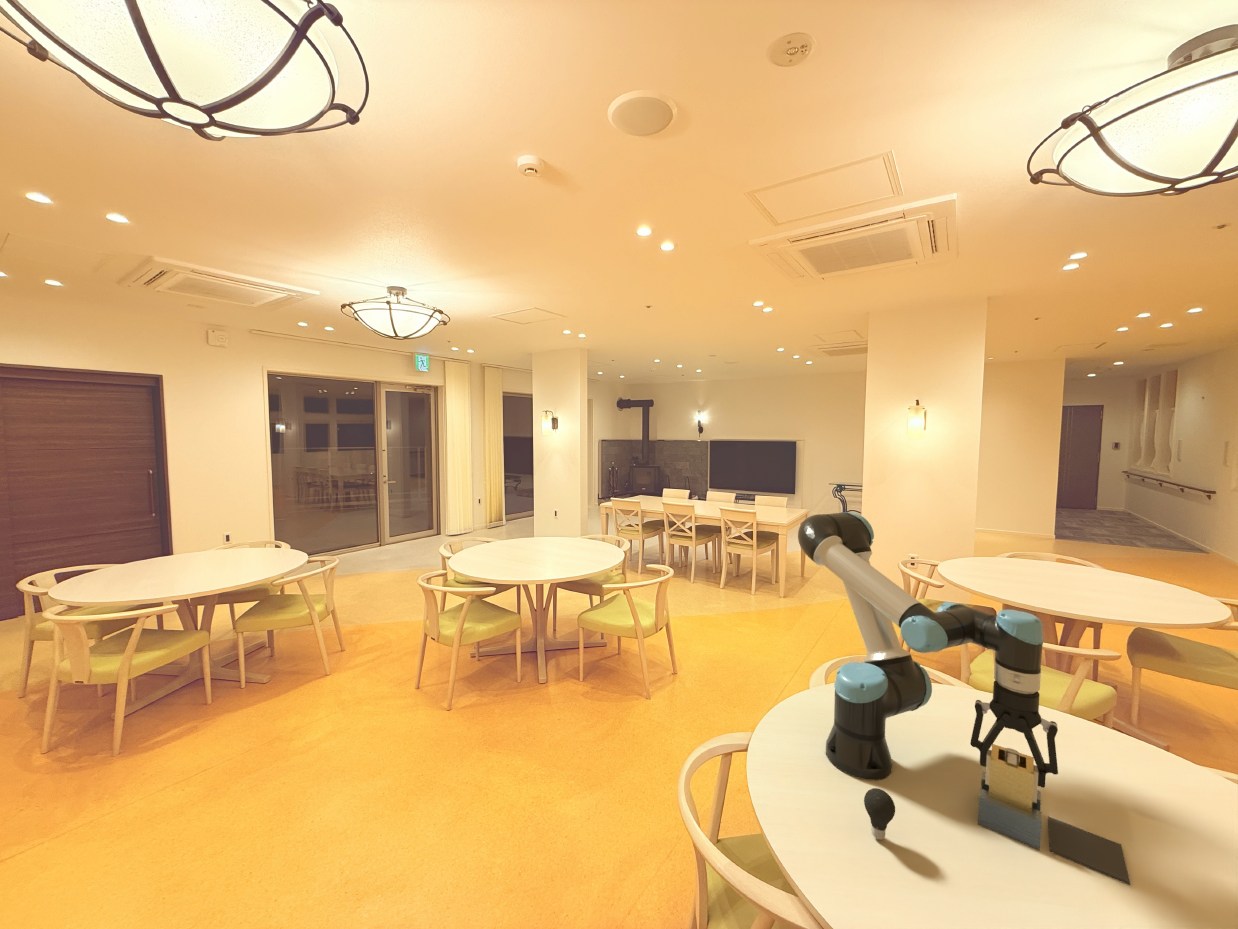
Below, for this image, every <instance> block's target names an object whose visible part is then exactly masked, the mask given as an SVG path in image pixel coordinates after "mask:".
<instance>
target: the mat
mask: <svg viewBox="0 0 1238 929" xmlns="http://www.w3.org/2000/svg"><path fill="white" fill-rule="evenodd" d="M1047 824H1048V839H1049V840H1048V843H1049V852H1050V853H1052V854H1054V855H1057V856H1059V857H1061V858H1064V859H1066V860H1068V861H1071V862H1073V863H1076V864H1078V865H1081V866H1082V867H1086V868H1088V869H1091V870H1092V871H1095V872H1097V873H1100V874H1102V875H1105V876H1106V877H1109V878H1111V879H1114V880H1116V881H1119V882H1122V884H1126V885H1128V886H1130V885H1131V881H1130V880H1131V879H1130V877H1129V876H1130V875H1129V872H1128V871H1129V870H1128V867H1127V863H1126V858H1125V855H1124V851H1123V846H1122V844H1121V843H1119V842H1115V841H1113V840H1111V839H1107V838H1106V837H1103V836H1101V835H1098V834H1095V833H1093V832H1091V831H1090V832H1089V831H1088V830H1086V829H1082V828H1080V827H1077V826H1074V825H1072V824H1069V823H1067V822H1064V821H1061V820H1059V819H1057V818H1053V817H1051V816H1047Z"/></svg>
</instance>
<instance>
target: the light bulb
mask: <svg viewBox="0 0 1238 929" xmlns="http://www.w3.org/2000/svg"><path fill="white" fill-rule="evenodd" d="M863 802H864V803H863V804H864V807H865V810H866V813H867V814H868V816H869V820H870V824H871V834H872V836H873V837H874V838H875V839H876V840H877V841H880V840H884V839H885V838H886V830H887V828H888V825H889V823H890V822H891V821H892V820H893V818H894V817H895V814H896V806H895V802H894V800H893V798H892V797H891V795H890V794H889V793H888V792H886V791H885V790H884V789H881V788H878V787H877V788H876V787H875V788H871V789H869V790H867V791H866V792H865V795H864V799H863Z"/></svg>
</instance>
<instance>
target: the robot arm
mask: <svg viewBox="0 0 1238 929" xmlns="http://www.w3.org/2000/svg"><path fill="white" fill-rule="evenodd" d="M874 539H875V534H874V529H873V527H872V525H871V524H870V522H869V521H868V520H867V519H866V518H865V517H864V516H863V515H860V514H859V513H855V512H844V511H842V512H836V513H818V514H813V515H810V516H808V517H807V518H806V519H804V520H803V521H802V522H801V524H800V526H799V527H798V531H797V540H798V543H799V546H800V549H801V550H802V551H803V553H804V554H805V555H806V556H807V557H808V558H809V559H810V560H811V561H812V562H813V563H815V564H816V565H817V566H822V567H823V566H824V567H825V568H827V570H829V571H831V573H833V574H834V575H835V576H836V577H837V578H839V579H840V580H841V581H842V584H843V586H844V589H845V591H846V594H847V597H848V600H849V602H850V603H849V604H850V606H851V609H852V611H853V615H854V618H855V621H856V623H857V626H858V629H859V632H860V636H861V638H862V640H863V643H864V645H865V646H864V647H865V649H866V656H865V657H864V661H861V662H858V661H852V662H851V661H850V662H847V663H844V664H843V665H841V666H840V667H839V668H838V669H837V670H836V675H835V680H834V707H833V708H834V711H833V712H834V716H833V720H834V721H833V725H832V727H831V729H830V732H829V734H828V736H827V739H826V743H825V755H826V758H827V759H828V760H829V762H830V763H831V764H832V765H833V766H834V767H836V768H837V769H839V771H842V772H844V773H845V774H847V775H849V776H852V777H855V778H858V779H861V780H867V781H880V780H884V779H886V778H888V777H889V776H890V775H891V774H892V770H893V769H892V768H893V759H892V756H891V752H890V750H889V749H890V748H889V746H888V743H887V739H886V721H887V720H886V719H888V718H890V717H894V716H897V715H900V714H904V713H908V712H913V711H916V710H918V709H919V708H921V707H923V706H925V705H927V703H928V702H929V701H930V699H931V698H932V693H933V685H932V680H931V678H930V675H929V673H928V672H927V670H926V669H925V667H923V666H921V664H920V663H919V662H918V661H915V660H913V658H912V654H911V652H910V651H908V650H907V649H904V648H903V647H902V645H901V642H900V639H899V637H898V635H897V632H896V630H895V626H894V624H895V625H896V626H897V627H898V628H900V630H899V631H900V635H901V638H902V639H903V641H904V642H905V645H906V646H907V647H909V649H911V650H912V651H914V652H917V653H922V654H928V653H929V654H930V653H937V652H938V653H939V652H940V651H942V650H945V649H949V648H953V647H957V646H959V647H960V646H962V645H967V644H974V645H977V646H978V647H979V646H980V647H982V648H985V649H987V650H988V649H989V650H990V651H994V668H993V669H994V670H993V674H994V675H993V678H994V681H993V686H992V687H993V689H992V699H991V701H990V702H983V701H982V700H980V699H977V700H975V702H974V709H975V718H974V724H973V729H972V733H971V738H970V746H971V747H973V748H976V749H977V750H979V753H980V754H979V764H980V766H981V767H984V768H985V772H986V778H985V784H987V785H989V779H990V760H991V751H992V749H991V748H992V744H994V743H995V742H996V740H997V738H998V736H999V735H1000V733H1001V732H1002V731H1003V729H1005V728H1006V729H1009V730H1015V731H1016V732H1018V733H1021V734H1023V735H1024V738H1025V739H1026V743H1027V745H1028V747H1029V750H1030V752H1031V755H1032V757H1033V758H1034V782H1033V799H1032V802H1035V803H1037V790H1038V789H1039V788H1038V787H1040V788H1041V789H1042V788H1044V789H1045V787H1046V777H1047V774H1053V775H1058V774H1059V767H1058V758H1057V749H1056V748H1057V747H1056V740H1055V738H1056V736H1057V733H1058V731H1059V730H1058V723H1057V722H1056V721H1053V720H1052V721H1051V720H1050V721H1049V720H1047V719H1044V718H1043V717H1042V716H1041V714H1040V710H1039V709H1040V692H1039V691H1040V690H1041V676H1042V675H1041V673H1042V668H1041V666H1042V656H1043V655H1042V654H1043V645H1044V641H1045V639H1044V634H1043V631H1044V630H1043V628H1044V627H1043V626H1044V625H1043V622H1042V620H1041V619H1040V618H1039V617H1038V616H1036V615H1034V614H1032V613H1029V612H1026V611H1020V610H1016V609H1006V608H1005V609H1001V610H1000V609H999V611H998V612H997V615H995V614H992V613H989V612H985V611H983V610H979V609H976V608H973V607H969V606H967V605H965V604H963V603H962V604H961V603H957V602H956V603H955V602H951V601H944V602H943V603H941V605H940V606H938V607H937V609H936V611H933V610H931V609H930V608H929V607H927V606H926V604H924V603H922V602H921V601H920V600H918V599H917V598H915V597H914V596H913V595H911V594H910V593H908V592H907V591H906V590H904V589H903V588H901V587H900V586H899V585H898V584H897V583H895V582H893V581H892V580H891V579H890V578H888V577H887V576H886V575H885V574H884V573H882V572H881V571H879V570H878V569H876V568H875V567H874V566H872V565H871V562H870V558H871V556H872V554H873V551H872V548H871V547H872V545H873V543H874ZM989 710H990V711H991V712H992V714H993V716H995V718H996V719H995V721H994V723H993V725H992V726H991V728H990V729H989V730H988V732H987V734H986V735H985V737H984V738H983V740H982V741H981V740H979V738H980V734H981V729H982V724H983V720H984V715H986V714H988V711H989ZM1039 725H1041V726H1042V730H1043V731H1044V732H1045V733H1046V742H1047V752H1048V762H1047V763H1046V762H1045V760H1044V757H1043V754H1042V753H1041V749H1040V748H1039V744H1038V742H1037V740H1036V737H1035V735H1034V731H1033V729H1034V728H1036V727H1038V726H1039Z"/></svg>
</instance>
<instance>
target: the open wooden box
mask: <svg viewBox="0 0 1238 929" xmlns="http://www.w3.org/2000/svg"><path fill="white" fill-rule="evenodd" d="M1006 748H1007V747H1003V746H1000V745H998V744H994V743H993V744H992V746H991V750H992V751H991V760H990V779H989V796H991V797H994V798H996V799H999V800H1001V801H1004V802H1007V803H1009V804H1012V805H1014V806H1017V807H1019V808H1022V809H1025V810H1027V811H1030V812H1032V799H1033V782H1034V765H1035V760H1034V758H1033V756H1030V755H1027V754H1024V753H1022V752H1019V753H1020V760H1019V766H1017V765H1014V764H1011V763H1008V762H1005V749H1006Z"/></svg>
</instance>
